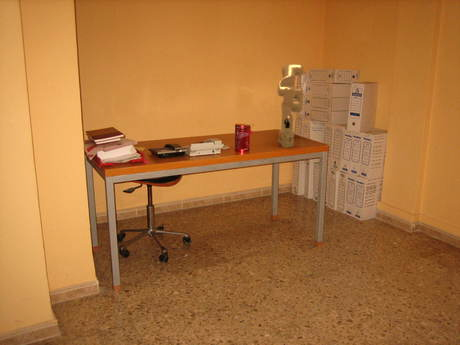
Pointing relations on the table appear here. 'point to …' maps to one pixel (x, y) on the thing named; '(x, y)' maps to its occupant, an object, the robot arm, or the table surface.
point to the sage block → (286, 128)
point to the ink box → (286, 139)
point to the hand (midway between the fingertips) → (286, 126)
